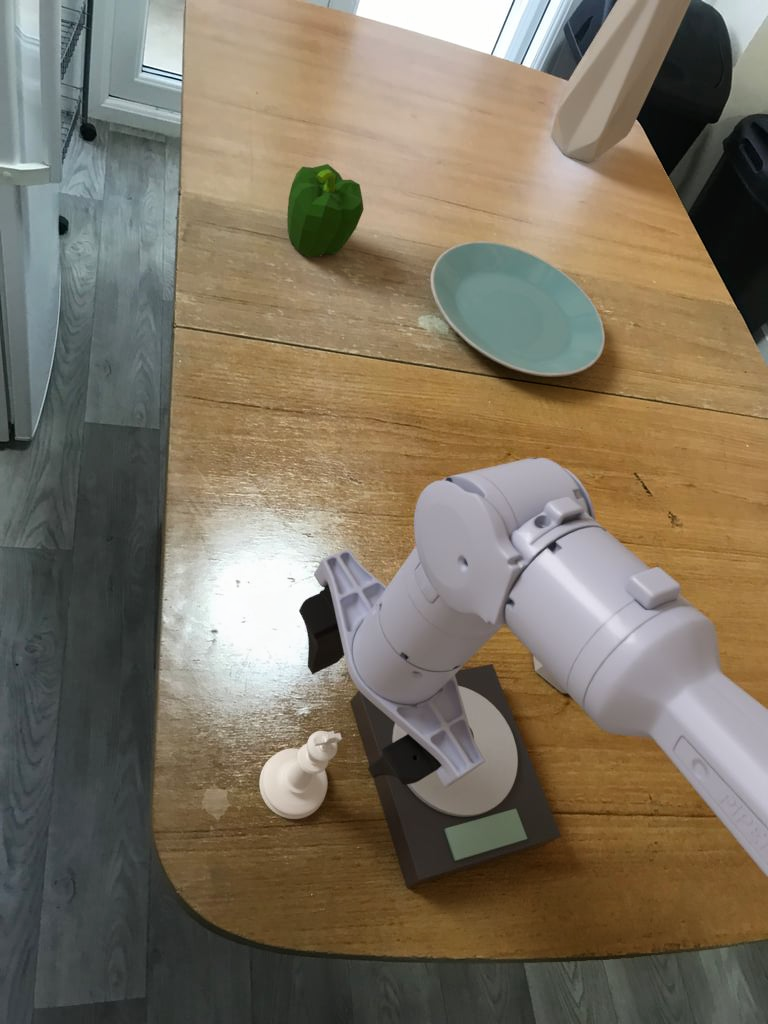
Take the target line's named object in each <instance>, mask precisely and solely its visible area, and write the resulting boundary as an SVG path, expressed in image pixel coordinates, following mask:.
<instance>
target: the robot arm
mask: <svg viewBox="0 0 768 1024" xmlns="http://www.w3.org/2000/svg"><path fill="white" fill-rule="evenodd" d="M537 457H538V456H534V457H533V456H532V457H529V458H525V459H524V458H523V459H521V460H515V461H511V462H506V463H503V464H497V465H494V466H493V465H492V466H488V467H485V468H481V469H475V470H472V471H467V472H462V473H458V474H453V475H450V476H449V475H448V476H446V477H444V478H443V479H440V480H435V481H433V482H431V483H429V484H428V485H426V487H424V488H423V490H422V491H421V493H420V495H419V497H418V499H417V502H416V505H415V509H414V515H413V534H414V543H415V546H414V547H413V549H412V551H411V552H410V553H409V555H408V557H407V558H406V559H405V560H404V562H403V563H402V565H401V566H400V568H399V569H398V571H397V572H396V573H395V575H394V577H393V578H391V580H390V582H389V584H388V585H387V586H386V585H385V584H384V583H383V582H382V581H381V580H380V579H378V578H377V577H376V576H375V575H374V574H372V573H371V572H370V571H369V570H368V569H367V568H366V567H364V565H362V564H361V562H360V561H359V560H358V559H357V558H356V556H355V554H354V553H353V552H352V550H351V549H350V548H346V549H343V550H340V551H338V552H336V553H333V554H331V555H328V556H325V557H323V558H322V559H321V560H320V562H319V564H318V566H317V568H316V569H315V571H314V573H313V576H314V578H315V579H316V581H317V583H318V584H319V586H321V587H322V588H323V589H322V590H320V591H319V593H317V594H314V595H312V596H309V597H307V598H306V599H305V600H304V601H303V602H302V604H301V606H300V608H299V609H298V612H299V614H300V616H301V618H302V620H303V622H304V625H305V629H306V634H307V642H308V643H307V644H308V651H307V652H308V654H307V668H308V669H309V671H310V674H311V675H314V674H316V673H319V672H320V671H322V670H325V669H327V668H329V667H331V666H333V665H335V664H337V663H338V662H340V660H341V659H342V658H344V659H345V664H346V668H347V672H348V674H349V676H350V679H351V681H352V682H353V684H354V686H355V687H356V688H357V689H358V690H359V691H360V692H361V693H362V694H363V695H364V696H365V697H366V698H367V699H368V700H370V701H371V702H372V703H373V704H374V705H375V706H376V707H378V708H379V709H380V710H381V711H382V712H383V713H385V714H386V715H387V716H388V717H389V718H390V719H391V720H393V721H394V722H395V723H396V724H397V725H398V726H399V727H401V728H402V729H403V730H404V731H405V732H406V733H408V734H407V735H405V736H404V737H402V738H400V739H399V740H397V741H395V742H393V743H392V744H390V745H388V746H386V747H385V748H383V749H382V751H383V754H382V756H381V757H380V759H379V760H378V761H376V762H375V763H373V764H372V765H370V766H369V765H368V767H367V770H368V772H369V773H370V775H371V777H372V778H373V777H374V778H376V777H377V776H380V775H391V776H394V777H396V778H398V779H399V780H400V781H401V782H402V784H403V785H406V784H412V783H416V782H418V781H420V780H421V779H423V778H425V777H426V776H428V775H429V774H431V773H433V772H434V771H436V770H437V775H438V777H439V778H440V780H441V782H442V783H443V785H444V787H445V788H447V787H449V786H450V785H452V784H453V783H455V782H456V781H458V780H459V779H461V778H463V777H464V776H466V775H467V774H469V773H470V772H472V771H473V770H474V769H476V768H477V767H478V766H480V765H481V764H482V763H484V762H485V759H484V758H483V756H482V754H481V752H480V751H479V749H478V747H477V745H476V743H475V741H474V735H473V731H472V729H471V728H470V726H469V723H468V719H467V716H466V712H465V709H464V705H463V702H462V698H461V695H460V691H459V688H458V684H457V681H456V677H455V674H456V673H457V672H458V671H459V670H462V668H463V667H464V666H465V665H466V664H467V663H468V662H469V660H471V659H472V658H473V657H474V656H475V655H476V654H477V653H478V652H479V651H480V650H481V649H482V648H483V647H484V646H485V645H486V644H487V643H488V642H489V641H490V640H491V639H492V638H493V637H494V636H495V635H496V634H497V633H498V632H499V631H500V630H501V629H502V628H503V627H504V626H506V627H507V629H508V630H509V631H510V632H511V633H512V634H513V635H514V636H515V638H517V640H519V642H520V643H521V644H522V645H523V646H524V647H525V648H526V649H527V650H528V651H529V652H530V654H531V655H532V657H533V656H534V657H535V658H536V659H537V660H538V661H539V662H540V663H541V664H542V666H543V667H544V668H545V669H546V670H547V671H548V672H549V673H550V674H551V675H552V676H553V678H554V679H555V680H556V681H557V682H558V683H559V684H560V685H561V686H562V687H563V688H564V690H565V691H566V692H567V693H568V694H567V693H566V694H567V695H569V697H571V699H573V701H574V702H575V703H576V704H577V705H578V706H579V707H580V709H581V710H583V712H584V713H585V714H586V715H587V716H588V717H589V719H590V720H592V722H594V724H595V725H596V726H597V727H598V728H599V729H600V730H601V731H603V732H605V733H608V734H612V735H617V736H628V737H637V738H645V739H651V740H652V741H654V742H655V743H656V744H657V746H658V747H659V748H660V749H661V750H662V751H663V753H664V754H665V756H666V757H667V758H668V760H670V762H672V764H673V765H674V766H675V768H676V769H677V770H678V771H679V772H680V774H681V775H682V776H683V777H684V778H685V779H686V781H687V782H688V783H689V785H691V787H692V789H694V790H695V792H696V793H697V794H698V795H699V797H700V798H701V799H702V800H703V801H704V802H705V804H706V805H707V806H708V808H709V809H710V810H711V811H712V812H713V813H714V815H715V816H716V817H717V818H718V819H719V821H720V822H721V823H722V824H723V826H724V827H725V828H726V829H727V830H728V832H729V833H730V834H731V835H732V836H733V837H734V839H735V840H736V841H737V842H738V844H739V845H740V846H741V847H742V849H743V850H744V851H745V852H746V853H747V855H748V856H749V857H750V859H751V860H753V862H754V863H755V864H756V865H757V867H758V868H759V870H761V871H762V873H763V874H764V875H765V876H766V878H768V708H767V707H765V706H764V705H763V704H762V703H760V702H759V701H758V700H756V698H754V697H753V696H752V695H750V694H749V693H748V692H746V691H745V690H744V689H742V688H741V687H740V686H739V685H737V684H736V683H735V682H734V681H733V680H732V679H730V678H729V677H727V676H726V675H725V674H724V673H723V670H722V663H721V657H720V649H719V648H720V647H719V639H718V633H717V629H716V626H715V624H714V622H713V621H711V619H710V618H709V617H707V616H706V615H705V614H704V613H703V612H701V611H700V610H699V609H698V608H697V607H696V606H694V605H693V604H692V603H691V602H690V601H689V600H688V599H686V598H685V597H684V596H683V595H682V594H681V591H682V586H681V585H680V583H679V582H678V581H676V580H675V579H674V578H673V577H672V576H670V575H669V574H668V573H667V572H666V571H665V570H664V569H662V568H661V567H659V566H655V567H652V568H651V567H649V566H648V565H647V564H646V563H645V562H644V561H643V560H642V559H640V558H639V557H638V556H637V555H636V554H635V553H633V551H631V550H630V549H629V548H628V547H626V545H624V544H623V543H622V542H621V541H619V539H618V538H616V537H615V536H614V535H613V534H611V533H610V532H609V531H608V530H607V529H606V528H605V527H603V525H601V524H600V523H599V522H598V521H597V520H596V514H595V513H596V512H595V508H594V505H593V501H592V499H591V497H590V494H589V492H588V491H587V489H586V487H585V486H584V484H583V483H582V482H581V480H580V479H579V478H578V476H576V475H575V474H574V473H573V472H572V471H570V470H569V469H567V468H565V467H563V466H561V465H560V464H559V463H557V462H556V461H554V460H552V459H549V458H546V457H538V458H537Z"/></svg>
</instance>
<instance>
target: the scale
mask: <svg viewBox="0 0 768 1024" xmlns="http://www.w3.org/2000/svg"><path fill="white" fill-rule="evenodd" d="M455 677H456V681H457V684H458V688H459V691H460V695H461V698H462V702H463V705H464V709H465V712H466V716H467V719H468V723H469V726H470V728H471V729H472V731H473V735H474V741H475V743H476V745H477V747H478V749H479V751H480V752H481V754H482V756H483V758H484V759H485V762H484V763H482V764H481V765H480V766H478V767H477V768H476V769H474V770H473V771H472V772H470V773H469V774H467V775H466V776H464V777H463V778H461V779H459V780H458V781H456V782H455V783H453V784H452V785H450V786H449V787H447V788H445V787H444V785H443V783H442V782H441V780H440V778H439V777H438V775H437V770H436V771H434V772H433V773H431V774H429V775H428V776H426V777H425V778H423V779H421V780H420V781H418V782H416V783H412V784H406V785H403V784H402V782H401V781H400V780H399V779H398V778H396V777H394V776H391V775H380V776H377V777H376V778H374V777H372V778H373V782H374V785H375V789H376V792H377V795H378V799H379V801H380V805H381V808H382V811H383V814H384V818H385V821H386V824H387V827H388V831H389V835H390V838H391V840H392V844H393V848H394V850H395V854H396V858H397V860H398V864H399V867H400V870H401V873H402V877H403V879H404V884H405V887H406V889H409V888H412V887H414V886H415V887H416V886H418V885H422V884H424V883H427V882H432V881H435V880H437V879H441V878H444V877H447V876H451V875H454V874H457V873H461V872H463V871H467V870H469V869H473V868H476V867H480V866H482V865H486V864H489V863H492V862H495V861H498V860H501V859H505V858H507V857H512V856H514V855H518V854H521V853H525V852H527V851H532V850H534V849H537V848H540V847H543V846H546V845H548V844H550V843H552V842H554V841H556V840H557V839H560V838H561V837H562V834H561V832H560V829H559V827H558V824H557V821H556V818H555V817H554V813H553V812H552V809H551V807H550V804H549V801H548V800H547V797H546V794H545V792H544V789H543V786H542V784H541V782H540V779H539V777H538V774H537V772H536V770H535V767H534V765H533V762H532V759H531V757H530V754H529V752H528V749H527V747H526V745H525V742H524V739H523V737H522V734H521V732H520V730H519V727H518V725H517V722H516V718H515V717H514V714H513V712H512V709H511V707H510V704H509V702H508V699H507V697H506V695H505V692H504V690H503V687H502V685H501V682H500V680H499V676H498V675H497V672H496V669H495V667H494V664H493V663H490V664H485V665H479V666H474V667H469V668H464V669H460V670H459V671H458V672H457V673H456V674H455ZM349 703H350V707H351V710H352V713H353V716H354V719H355V722H356V726H357V729H358V733H359V735H360V738H361V742H362V747H363V749H364V752H365V756H366V760H367V763H368V767H369V766H370V765H372V764H373V763H375V762H376V761H378V760H379V759H380V757H381V756H382V754H383V751H382V749H383V748H385V747H386V746H388V745H390V744H392V743H393V742H395V741H397V740H399V739H400V738H402V737H404V736H405V735H407V734H408V733H406V732H405V731H404V730H403V729H402V728H401V727H399V726H398V725H397V724H396V723H395V722H394V721H393V720H391V719H390V718H389V717H388V716H387V715H386V714H385V713H383V712H382V711H381V710H380V709H379V708H378V707H376V706H375V705H374V704H373V703H372V702H371V701H370V700H368V699H367V698H366V697H365V696H364V695H363V694H362V693H361V692H360V691H359V689H358V690H357V692H356V693H355V694H354V696H353V697H352V698H351V700H350V701H349Z"/></svg>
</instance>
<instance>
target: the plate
mask: <svg viewBox="0 0 768 1024" xmlns="http://www.w3.org/2000/svg"><path fill="white" fill-rule="evenodd" d="M429 281H430V289H431V293H432V298H433V300H434V302H435V305H436V307H437V308H438V311H439V312H440V314H441V315H442V317H443V318H444V320H445V321H446V323H447V324H448V326H450V327H451V328H452V330H453V331H454V332H455V333H456V334H457V335H458V336H459V337H460V338H461V339H462V340H463V341H464V342H466V343H467V344H468V345H469V346H470V347H472V348H473V349H474V350H475V351H477V352H478V353H480V354H481V355H483V356H484V357H486V358H488V359H489V360H491V361H493V362H495V363H497V364H499V365H501V366H502V367H503V366H504V367H505V368H508V369H510V370H513V371H516V372H520V373H522V374H527V375H531V376H536V377H543V378H544V377H545V378H546V377H547V378H559V377H560V378H561V377H567V376H572V375H576V374H579V373H581V372H584V371H585V370H588V369H589V368H590V367H592V366H594V364H596V363H597V361H598V360H599V359H600V357H601V356H602V354H603V351H604V348H605V343H606V341H605V340H606V334H605V333H606V332H605V328H604V323H603V320H602V317H601V315H600V313H599V311H598V309H597V307H596V305H595V304H594V302H593V300H592V299H591V298H590V297H589V295H588V294H587V293H586V291H585V290H583V289H582V287H581V286H579V284H578V283H577V282H575V280H574V279H573V278H571V277H570V276H568V275H567V273H565V272H564V271H562V270H561V269H560V268H558V267H556V266H554V265H553V264H552V263H550V262H548V261H546V260H545V259H544V258H541V257H539V256H537V255H536V254H533V253H531V252H529V251H526V250H524V249H521V248H518V247H515V246H513V245H509V244H505V243H500V242H495V241H483V240H482V241H469V242H464V243H460V244H456V245H454V246H452V247H450V248H448V249H447V250H445V251H444V252H443V253H441V254H440V255H439V256H438V258H437V259H436V260H435V262H434V264H433V266H432V269H431V273H430V280H429Z"/></svg>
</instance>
